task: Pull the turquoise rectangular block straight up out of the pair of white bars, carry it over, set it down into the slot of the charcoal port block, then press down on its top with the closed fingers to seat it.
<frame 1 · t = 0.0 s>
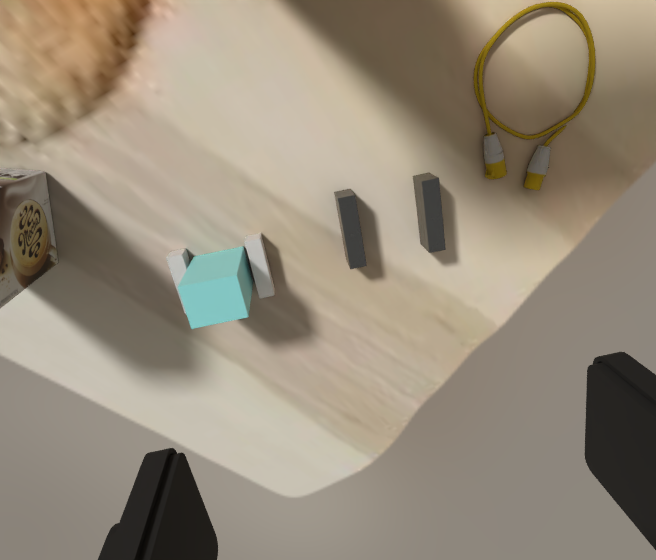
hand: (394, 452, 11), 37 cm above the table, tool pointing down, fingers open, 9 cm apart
pair of white bars: (224, 270, 47), on the table
port: (386, 217, 47), on the table
coffee box: (19, 217, 44), on the table
turquoise rectangular block: (224, 269, 47), on the table
extension cord: (522, 97, 45), on the table
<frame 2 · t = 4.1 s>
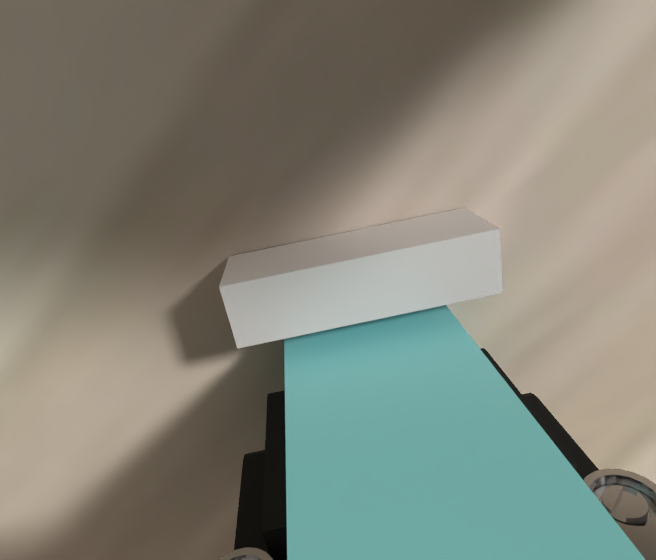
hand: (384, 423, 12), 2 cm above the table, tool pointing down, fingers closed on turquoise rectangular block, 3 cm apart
pair of white bars: (373, 381, 13), on the table
turquoise rectangular block: (371, 380, 13), on the table, touching gripper
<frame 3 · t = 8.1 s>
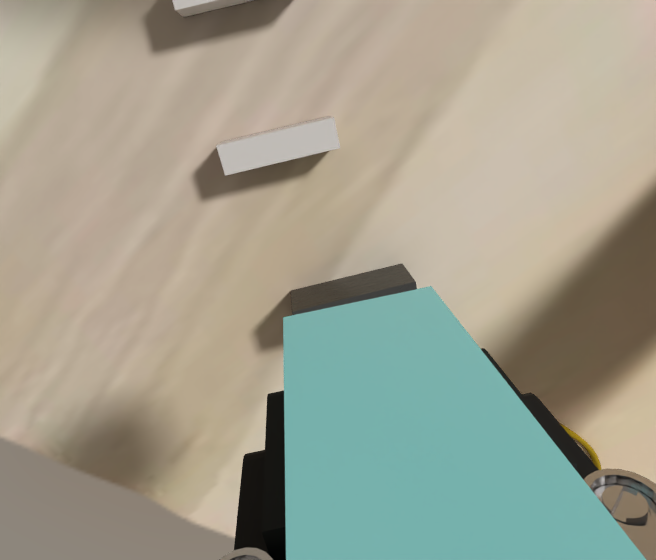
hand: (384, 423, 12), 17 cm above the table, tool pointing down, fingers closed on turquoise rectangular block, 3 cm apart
pair of white bars: (260, 68, 24), on the table
port: (361, 342, 30), on the table
turquoise rectangular block: (371, 380, 13), point 15 cm above the table, touching gripper
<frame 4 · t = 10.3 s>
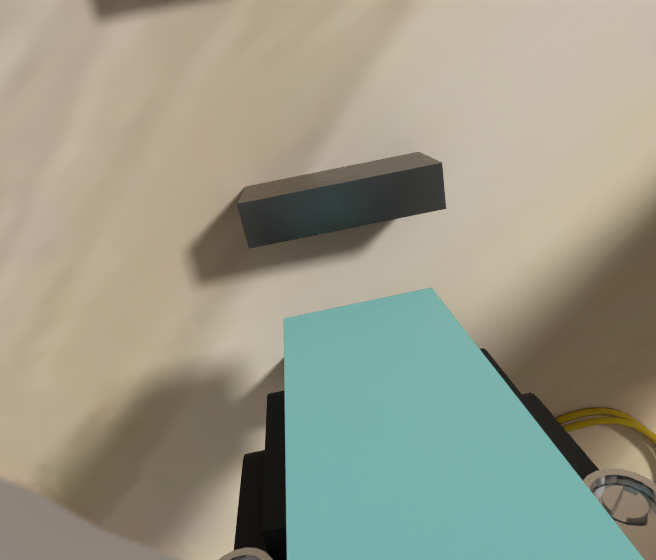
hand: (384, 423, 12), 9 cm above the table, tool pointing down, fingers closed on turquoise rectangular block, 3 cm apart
port: (351, 277, 20), on the table
turquoise rectangular block: (371, 381, 13), point 8 cm above the table, touching gripper
extension cord: (533, 481, 27), on the table
when the fingers open (3 cm above the table, at t = 12.1 s): turquoise rectangular block drops 1 cm, on the table.
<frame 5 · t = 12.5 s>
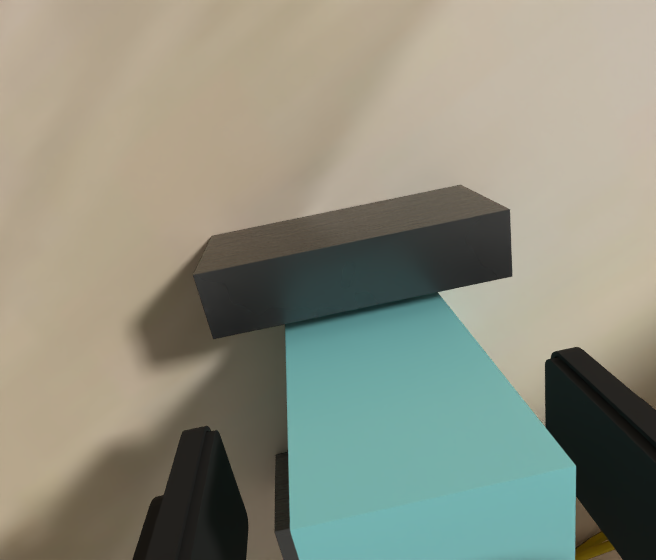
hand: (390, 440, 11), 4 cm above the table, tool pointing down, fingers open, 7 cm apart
port: (363, 355, 15), on the table
turquoise rectangular block: (364, 353, 15), on the table
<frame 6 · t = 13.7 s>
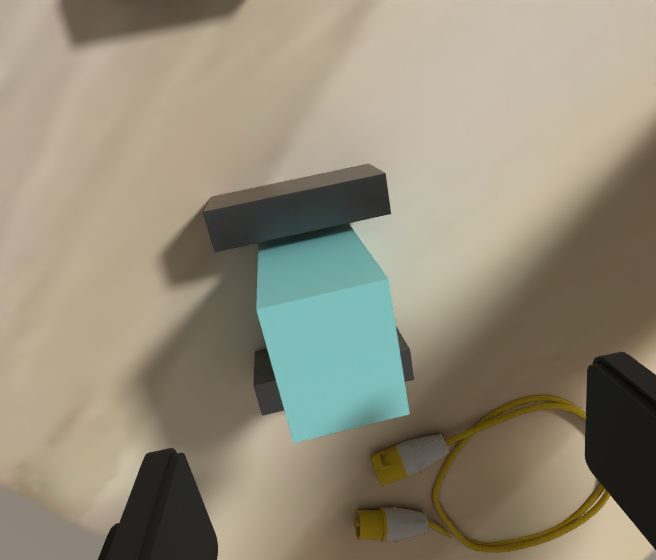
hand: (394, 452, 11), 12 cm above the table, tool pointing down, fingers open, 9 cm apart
port: (312, 278, 22), on the table
turquoise rectangular block: (313, 277, 22), on the table
extension cord: (487, 466, 29), on the table
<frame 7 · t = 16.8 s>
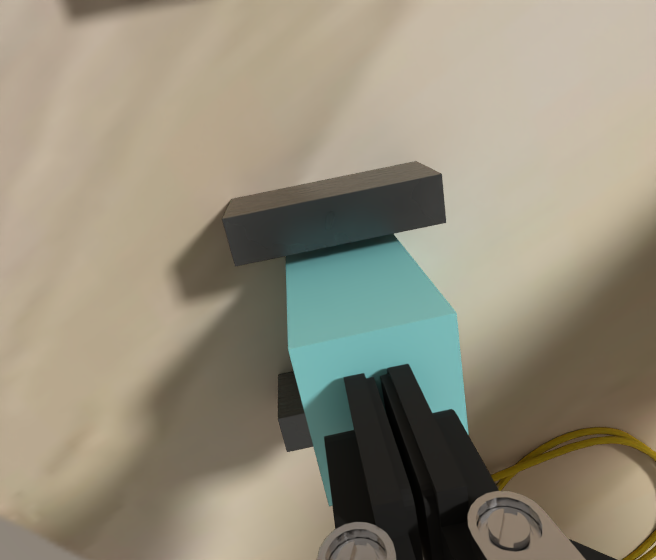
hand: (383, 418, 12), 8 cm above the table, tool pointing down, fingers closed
port: (345, 293, 19), on the table
turquoise rectangular block: (346, 292, 19), on the table, touching gripper
extension cord: (532, 502, 26), on the table
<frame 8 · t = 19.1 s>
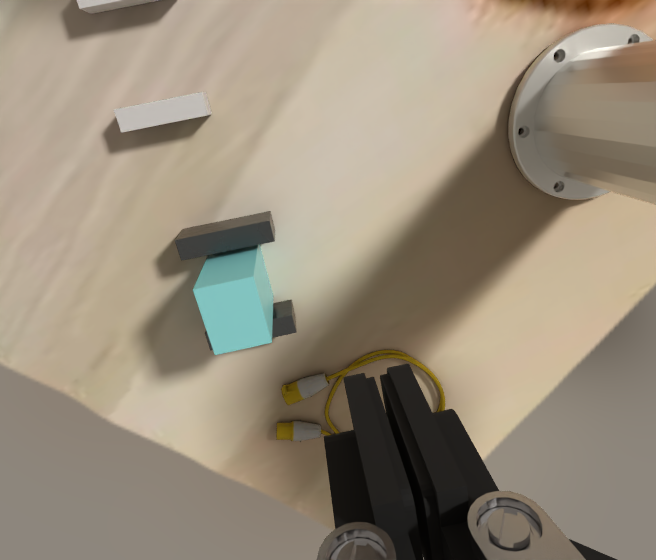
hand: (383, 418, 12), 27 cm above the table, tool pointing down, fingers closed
pair of white bars: (150, 54, 32), on the table
port: (241, 274, 39), on the table
turquoise rectangular block: (242, 274, 39), on the table
extension cord: (361, 397, 45), on the table
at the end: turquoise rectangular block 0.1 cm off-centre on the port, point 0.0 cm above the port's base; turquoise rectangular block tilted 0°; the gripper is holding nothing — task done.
